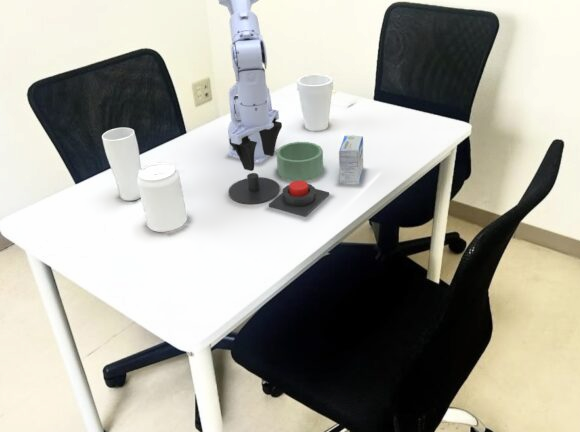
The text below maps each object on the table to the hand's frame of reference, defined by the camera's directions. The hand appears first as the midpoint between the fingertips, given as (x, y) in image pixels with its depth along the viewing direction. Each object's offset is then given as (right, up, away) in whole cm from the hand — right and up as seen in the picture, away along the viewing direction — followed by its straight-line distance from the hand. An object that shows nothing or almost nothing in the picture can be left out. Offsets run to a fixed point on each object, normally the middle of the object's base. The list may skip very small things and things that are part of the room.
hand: (259, 162), depth 119 cm
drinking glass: (-29, -7, +5) cm, 30 cm away
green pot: (+9, -1, +11) cm, 14 cm away
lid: (-1, -6, +3) cm, 7 cm away
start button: (+9, -7, -2) cm, 11 cm away
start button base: (+9, -9, -1) cm, 12 cm away
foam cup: (+13, +13, +34) cm, 38 cm away
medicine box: (+20, -3, +8) cm, 22 cm away
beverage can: (-18, -13, -5) cm, 23 cm away
